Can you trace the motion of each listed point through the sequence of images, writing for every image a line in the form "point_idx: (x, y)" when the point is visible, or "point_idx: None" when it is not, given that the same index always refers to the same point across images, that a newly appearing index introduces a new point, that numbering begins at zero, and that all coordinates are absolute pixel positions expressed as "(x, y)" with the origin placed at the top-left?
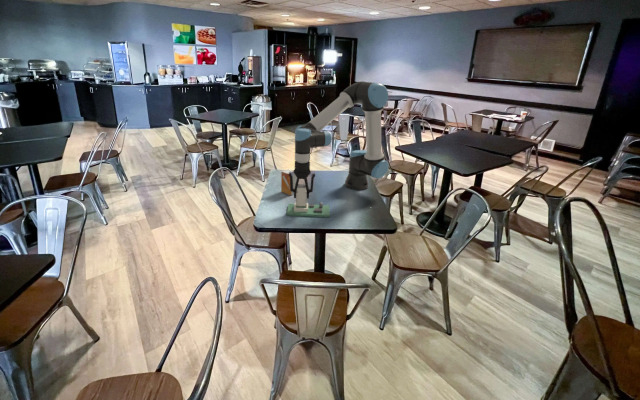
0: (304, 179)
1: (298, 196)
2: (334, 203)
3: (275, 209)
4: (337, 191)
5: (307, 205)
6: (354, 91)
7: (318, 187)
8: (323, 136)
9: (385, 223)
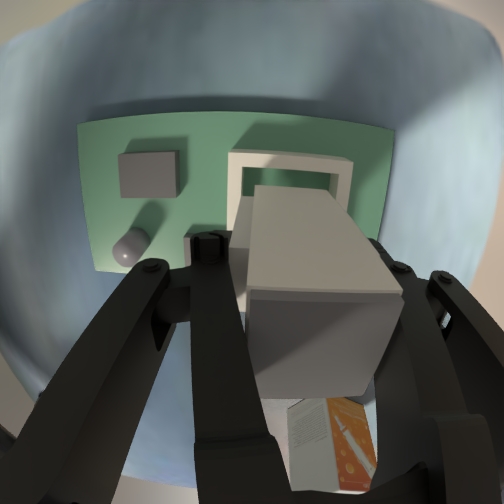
0: (280, 486)
1: (340, 221)
2: (87, 309)
3: (441, 225)
4: None
5: (232, 218)
6: None
7: (193, 437)
8: None
9: None
